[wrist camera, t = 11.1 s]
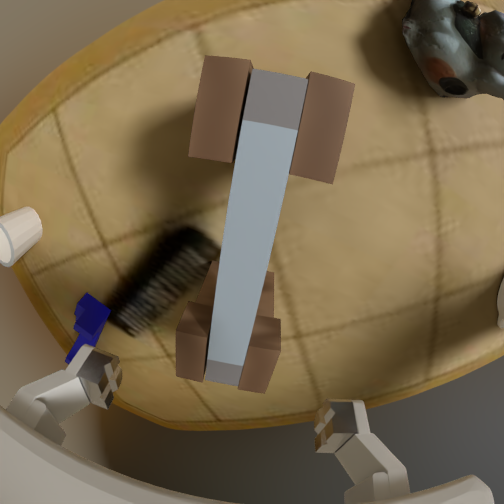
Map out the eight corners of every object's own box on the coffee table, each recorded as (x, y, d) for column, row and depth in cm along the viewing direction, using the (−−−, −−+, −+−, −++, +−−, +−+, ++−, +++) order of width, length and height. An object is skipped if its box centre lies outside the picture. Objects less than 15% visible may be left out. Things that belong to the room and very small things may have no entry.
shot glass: (36, 197, 29) (2, 215, 23) (50, 242, 32) (20, 266, 26) (13, 207, 30) (-18, 224, 24) (26, 247, 33) (-2, 269, 27)
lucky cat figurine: (418, -23, 14) (521, -25, 3) (461, 52, 21) (550, 67, 10) (378, 30, 16) (532, 32, 5) (433, 122, 23) (548, 154, 11)
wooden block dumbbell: (320, 100, 23) (355, 84, 12) (268, 314, 34) (264, 393, 23) (234, 83, 23) (205, 55, 12) (202, 301, 34) (176, 376, 23)
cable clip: (87, 291, 36) (66, 316, 30) (111, 309, 37) (92, 335, 31) (74, 333, 40) (57, 356, 35) (94, 348, 41) (79, 372, 36)
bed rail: (301, 88, 16) (308, 79, 13) (242, 355, 27) (238, 386, 23) (256, 79, 16) (252, 68, 13) (212, 349, 27) (205, 379, 23)
